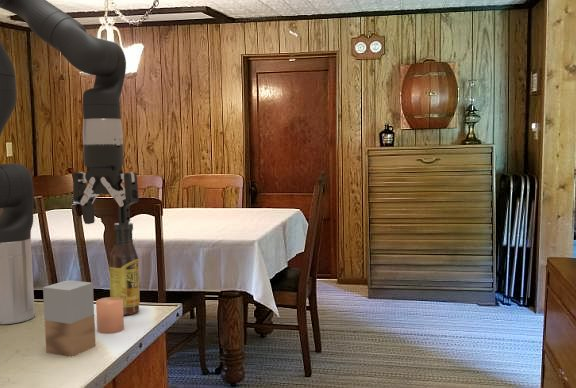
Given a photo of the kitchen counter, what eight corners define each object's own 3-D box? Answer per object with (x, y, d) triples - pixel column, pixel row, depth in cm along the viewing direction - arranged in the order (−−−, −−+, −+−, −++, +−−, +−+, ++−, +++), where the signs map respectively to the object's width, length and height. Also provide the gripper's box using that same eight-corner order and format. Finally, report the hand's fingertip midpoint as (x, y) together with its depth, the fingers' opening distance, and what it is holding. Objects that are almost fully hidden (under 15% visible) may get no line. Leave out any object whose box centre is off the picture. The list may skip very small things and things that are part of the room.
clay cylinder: (91, 331, 120) (90, 302, 119) (109, 324, 125) (107, 296, 124) (112, 334, 118) (111, 304, 117) (129, 327, 123) (128, 298, 122)
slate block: (44, 320, 108) (43, 287, 107) (69, 311, 113) (67, 280, 113) (70, 323, 105) (69, 290, 105) (94, 314, 111) (92, 282, 110)
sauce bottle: (132, 317, 130) (128, 225, 128) (105, 315, 131) (102, 225, 129) (145, 308, 136) (142, 221, 134) (119, 307, 137) (116, 221, 135)
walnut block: (46, 352, 108) (44, 320, 108) (70, 342, 114) (69, 311, 113) (72, 357, 106) (70, 324, 105) (95, 346, 111) (94, 314, 111)
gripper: (61, 143, 117) (65, 225, 119) (119, 142, 112) (123, 228, 113) (88, 142, 124) (91, 220, 126) (144, 142, 119) (147, 223, 120)
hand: (106, 224), depth 119 cm, fingers open, 8 cm apart
